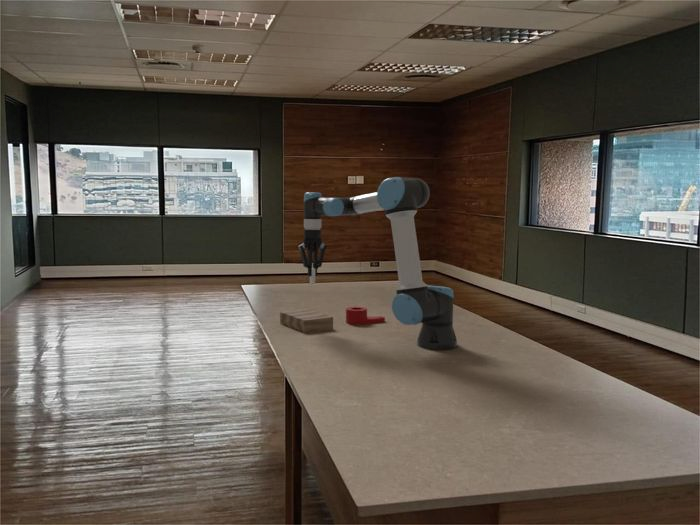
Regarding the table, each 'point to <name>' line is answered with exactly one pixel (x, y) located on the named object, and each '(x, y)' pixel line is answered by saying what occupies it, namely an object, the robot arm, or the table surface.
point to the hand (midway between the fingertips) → (312, 283)
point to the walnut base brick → (306, 320)
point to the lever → (360, 316)
